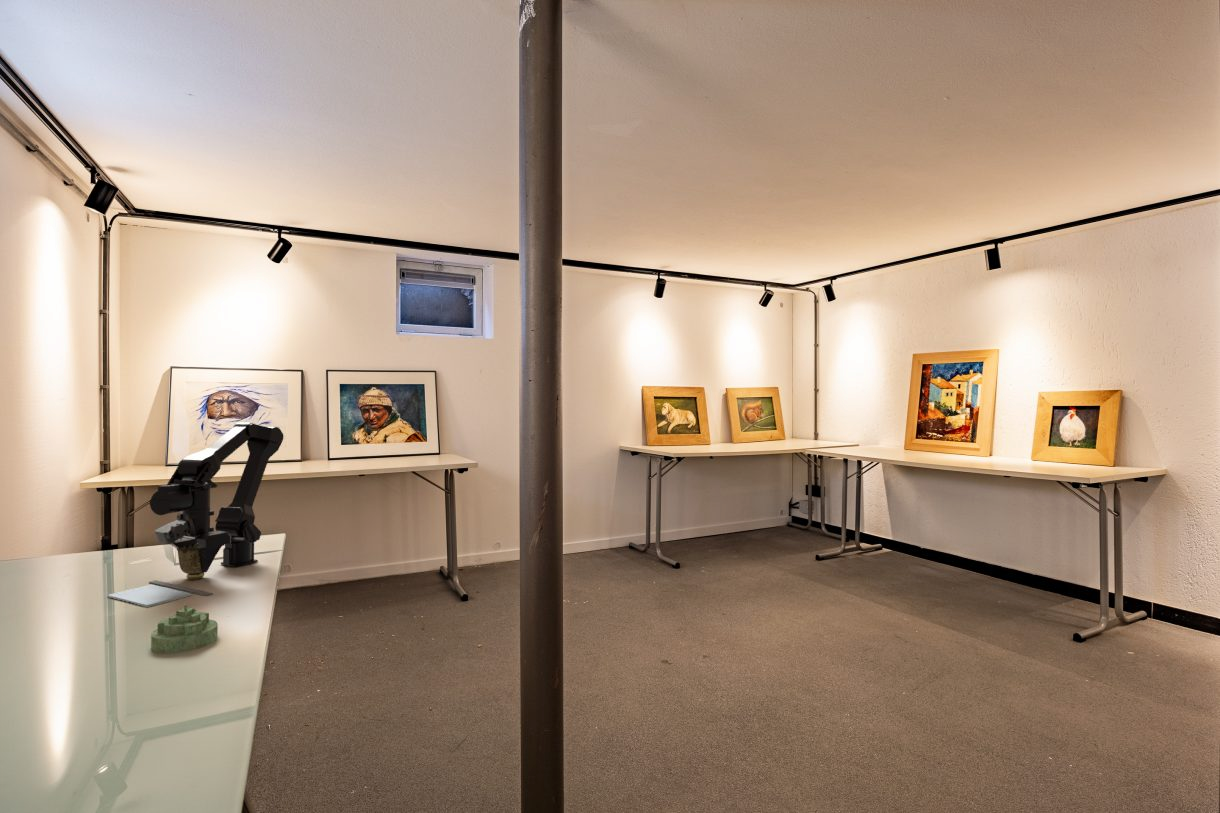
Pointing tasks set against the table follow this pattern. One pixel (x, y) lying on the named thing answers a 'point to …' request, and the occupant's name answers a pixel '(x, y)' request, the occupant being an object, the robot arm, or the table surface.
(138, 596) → the board
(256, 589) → the table surface
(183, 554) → the cup
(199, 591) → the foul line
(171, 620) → the decorative artifact
